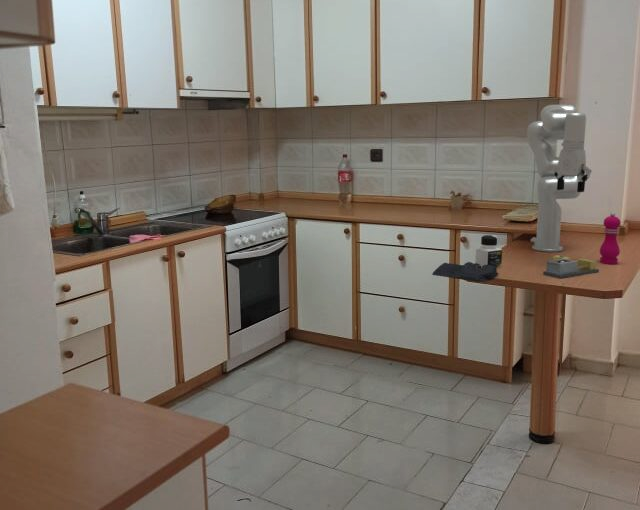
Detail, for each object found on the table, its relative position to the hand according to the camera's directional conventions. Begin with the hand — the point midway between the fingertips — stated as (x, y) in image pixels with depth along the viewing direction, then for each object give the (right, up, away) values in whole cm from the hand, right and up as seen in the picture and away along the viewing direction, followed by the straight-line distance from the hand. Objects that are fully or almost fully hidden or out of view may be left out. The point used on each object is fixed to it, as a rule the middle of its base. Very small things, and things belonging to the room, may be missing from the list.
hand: (570, 190), depth 248 cm
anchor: (-1, -28, +6) cm, 28 cm away
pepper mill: (+17, -28, +5) cm, 33 cm away
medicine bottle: (-32, -29, 0) cm, 43 cm away
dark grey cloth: (-44, -33, -13) cm, 56 cm away
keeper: (-5, -32, -12) cm, 34 cm away
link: (-9, -31, -15) cm, 36 cm away
